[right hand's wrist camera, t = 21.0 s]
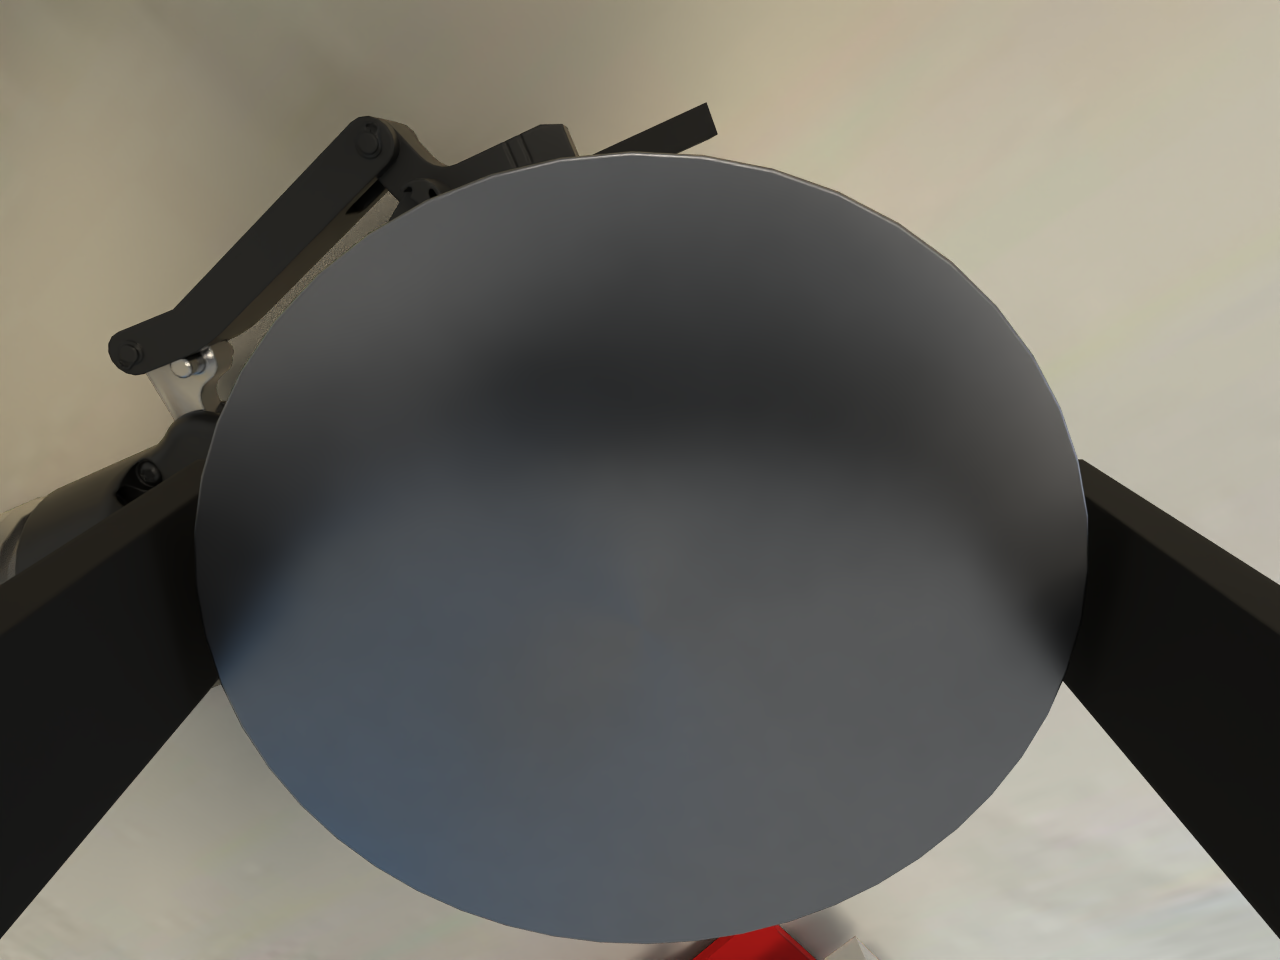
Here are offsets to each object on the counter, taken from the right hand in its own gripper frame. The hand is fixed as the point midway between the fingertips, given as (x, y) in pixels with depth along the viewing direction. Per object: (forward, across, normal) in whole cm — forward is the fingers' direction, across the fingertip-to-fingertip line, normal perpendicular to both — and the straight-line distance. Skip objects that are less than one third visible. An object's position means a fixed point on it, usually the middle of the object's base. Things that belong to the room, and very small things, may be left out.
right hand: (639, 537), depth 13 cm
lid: (-2, 0, 0) cm, 2 cm away
